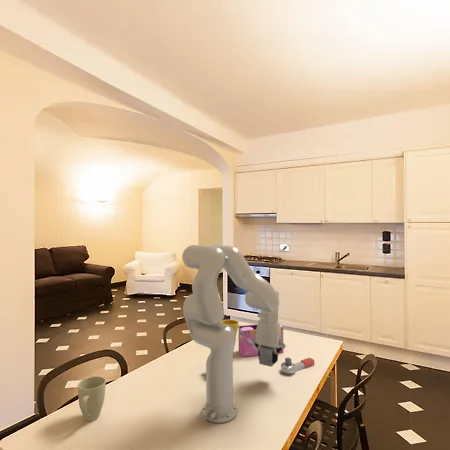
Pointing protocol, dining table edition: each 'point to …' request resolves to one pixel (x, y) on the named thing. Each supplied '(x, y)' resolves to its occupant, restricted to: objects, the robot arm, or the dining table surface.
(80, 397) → the mug
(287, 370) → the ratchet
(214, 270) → the robot arm
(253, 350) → the gum box
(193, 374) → the dining table surface
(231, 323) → the plant pot
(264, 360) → the brushed steel block
